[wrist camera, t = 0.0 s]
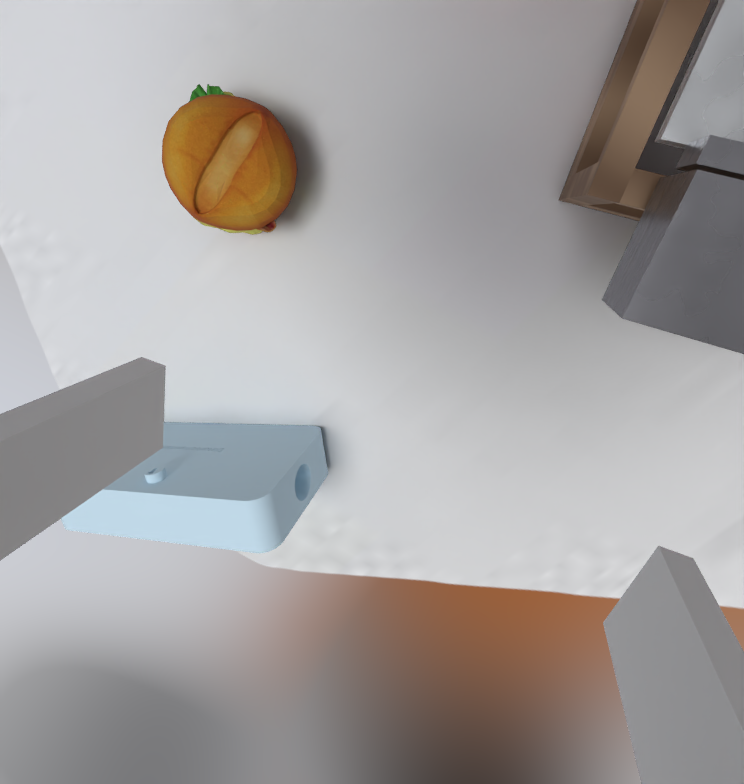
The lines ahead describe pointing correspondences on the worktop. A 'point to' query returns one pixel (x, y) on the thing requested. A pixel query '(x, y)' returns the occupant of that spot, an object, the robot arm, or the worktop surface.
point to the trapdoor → (696, 204)
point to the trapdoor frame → (632, 108)
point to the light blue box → (213, 487)
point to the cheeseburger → (229, 162)
